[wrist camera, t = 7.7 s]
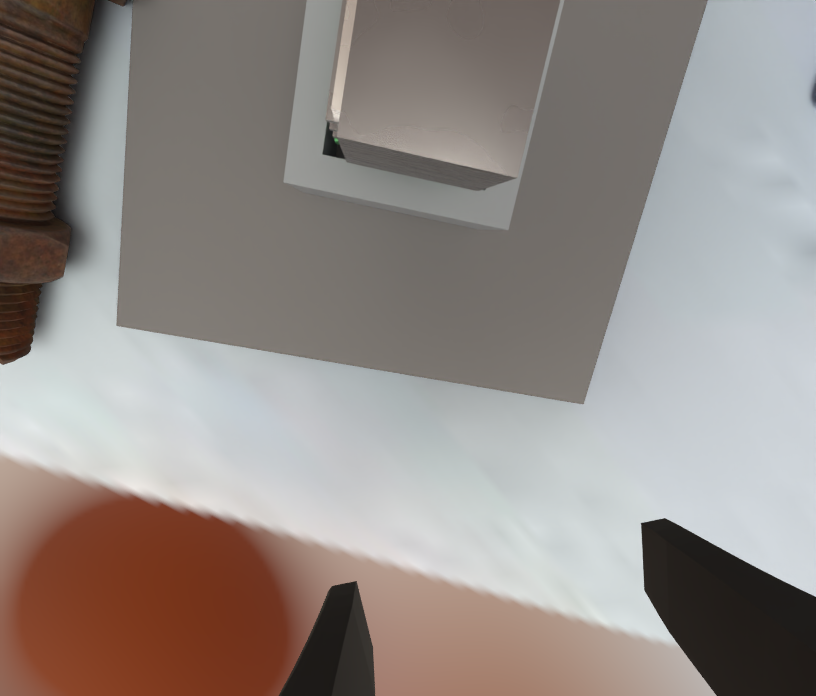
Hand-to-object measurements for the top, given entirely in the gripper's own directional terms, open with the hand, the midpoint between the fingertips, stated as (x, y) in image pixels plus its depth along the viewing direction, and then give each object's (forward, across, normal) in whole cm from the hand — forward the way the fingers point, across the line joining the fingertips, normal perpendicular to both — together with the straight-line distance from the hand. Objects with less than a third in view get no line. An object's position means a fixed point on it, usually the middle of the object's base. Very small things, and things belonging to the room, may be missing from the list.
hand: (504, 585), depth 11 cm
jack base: (+10, -1, -13) cm, 16 cm away
